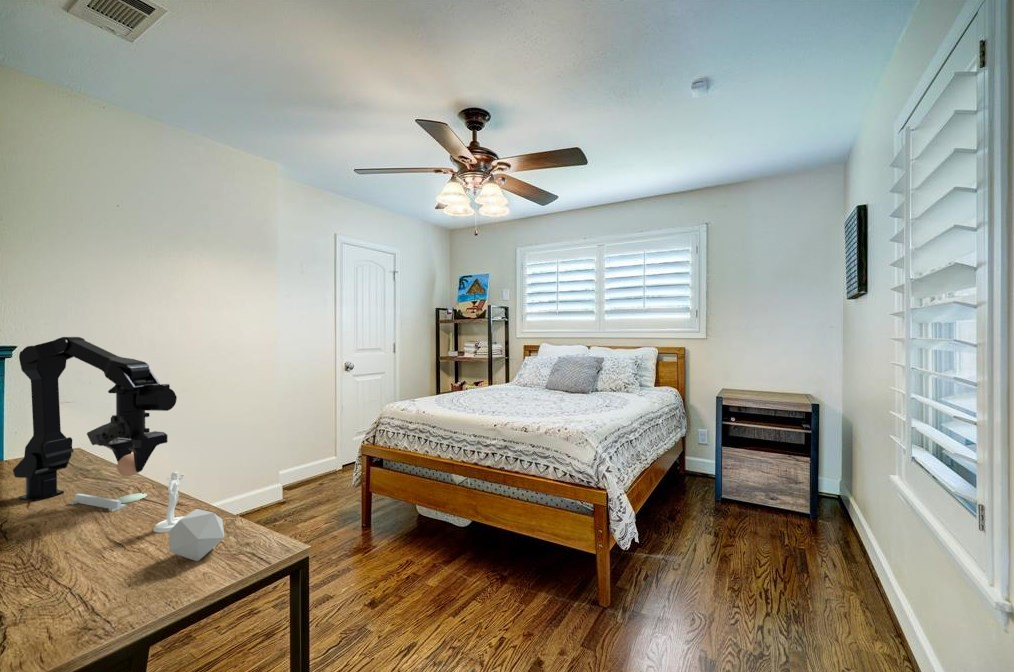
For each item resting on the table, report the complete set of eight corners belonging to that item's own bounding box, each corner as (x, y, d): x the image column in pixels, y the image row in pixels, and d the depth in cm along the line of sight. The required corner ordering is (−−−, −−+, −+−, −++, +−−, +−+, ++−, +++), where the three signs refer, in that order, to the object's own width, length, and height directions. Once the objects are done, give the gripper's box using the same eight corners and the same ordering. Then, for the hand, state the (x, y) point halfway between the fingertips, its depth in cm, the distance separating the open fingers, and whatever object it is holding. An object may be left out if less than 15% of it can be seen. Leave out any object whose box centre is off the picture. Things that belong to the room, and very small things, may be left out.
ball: (111, 477, 112) (111, 455, 112) (135, 471, 117) (135, 450, 117) (126, 479, 110) (126, 457, 110) (150, 473, 116) (149, 452, 116)
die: (235, 553, 86) (232, 503, 91) (204, 550, 79) (202, 496, 83) (192, 571, 85) (191, 520, 90) (155, 570, 78) (156, 514, 83)
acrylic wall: (69, 504, 110) (69, 496, 110) (84, 499, 113) (84, 492, 113) (112, 511, 105) (112, 503, 105) (126, 507, 108) (126, 499, 108)
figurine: (188, 529, 96) (188, 474, 96) (148, 535, 93) (147, 478, 93) (197, 516, 102) (196, 465, 102) (159, 521, 100) (159, 468, 100)
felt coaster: (109, 501, 112) (109, 500, 112) (137, 493, 118) (137, 492, 118) (126, 504, 110) (126, 503, 110) (153, 495, 116) (153, 494, 116)
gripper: (68, 413, 109) (69, 476, 109) (119, 418, 103) (119, 484, 103) (120, 406, 120) (120, 463, 120) (168, 410, 114) (169, 470, 114)
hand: (131, 470), depth 114 cm, fingers closed on ball, 5 cm apart
